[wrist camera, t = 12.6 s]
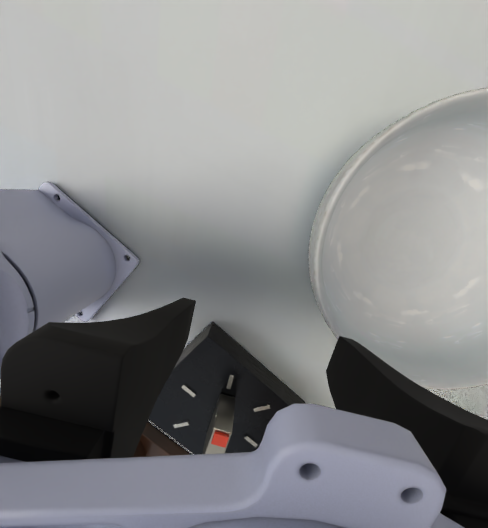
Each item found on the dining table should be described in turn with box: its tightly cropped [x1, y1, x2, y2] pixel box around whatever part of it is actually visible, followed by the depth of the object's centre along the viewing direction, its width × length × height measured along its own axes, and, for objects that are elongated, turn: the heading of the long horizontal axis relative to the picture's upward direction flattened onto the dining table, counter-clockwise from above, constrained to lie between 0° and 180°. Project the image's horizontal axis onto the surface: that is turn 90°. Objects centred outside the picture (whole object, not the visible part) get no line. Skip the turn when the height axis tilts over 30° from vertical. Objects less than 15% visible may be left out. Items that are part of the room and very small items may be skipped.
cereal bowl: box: [308, 88, 488, 389], centre depth 18 cm, size 17×17×7 cm
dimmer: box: [149, 322, 306, 455], centre depth 24 cm, size 12×10×3 cm
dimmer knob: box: [202, 394, 236, 454], centre depth 21 cm, size 5×1×4 cm, turn 163°
